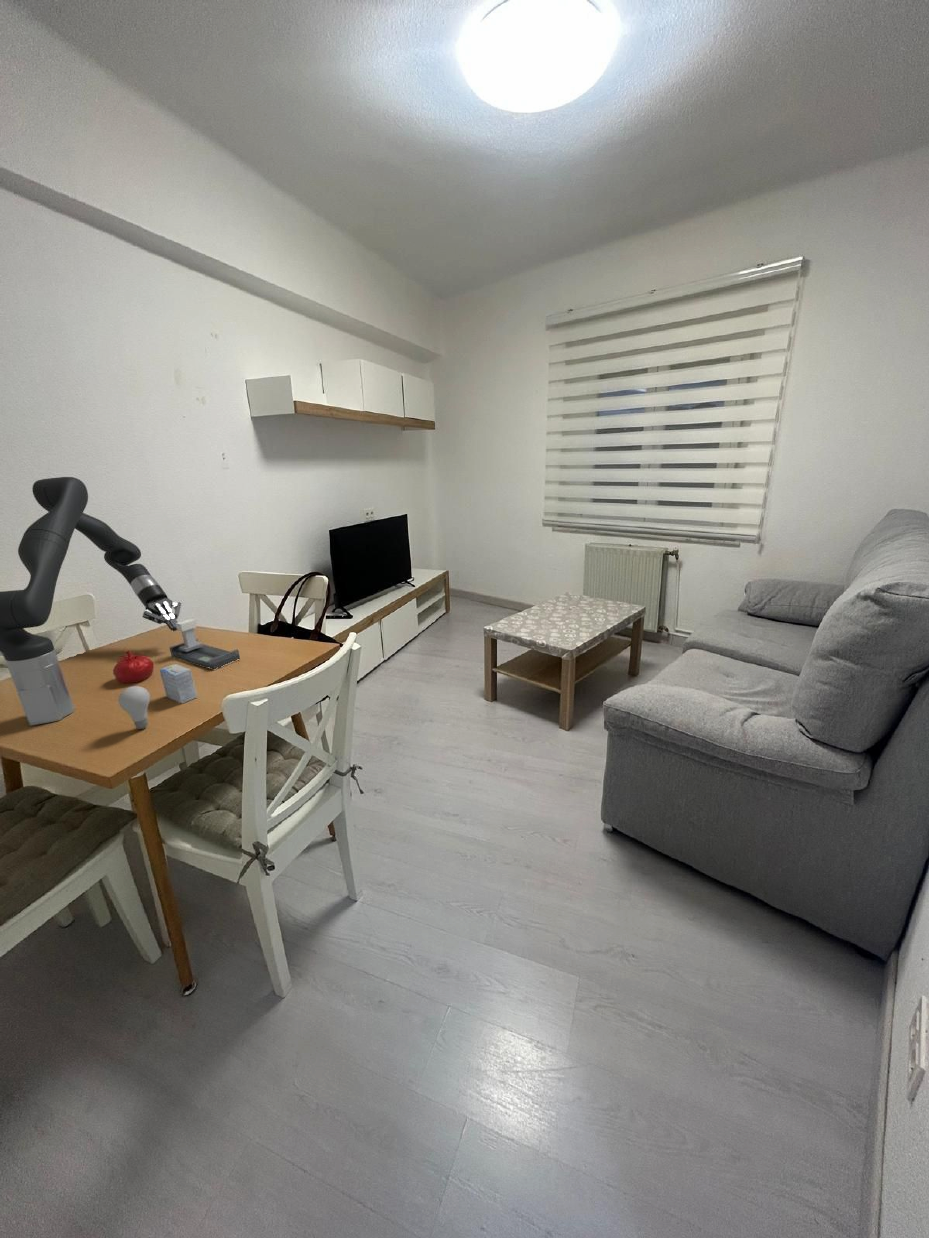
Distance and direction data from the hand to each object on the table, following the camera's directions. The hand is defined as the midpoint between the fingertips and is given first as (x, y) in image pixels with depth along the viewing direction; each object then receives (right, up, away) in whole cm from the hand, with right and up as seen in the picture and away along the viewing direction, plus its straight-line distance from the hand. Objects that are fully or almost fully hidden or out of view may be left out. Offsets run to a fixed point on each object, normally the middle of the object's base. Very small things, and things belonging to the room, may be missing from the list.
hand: (176, 629), depth 159 cm
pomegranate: (-1, -15, -18) cm, 23 cm away
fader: (+6, -6, -2) cm, 9 cm away
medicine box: (+21, -18, -31) cm, 41 cm away
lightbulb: (+20, -23, -46) cm, 55 cm away
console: (+12, -10, -4) cm, 16 cm away
